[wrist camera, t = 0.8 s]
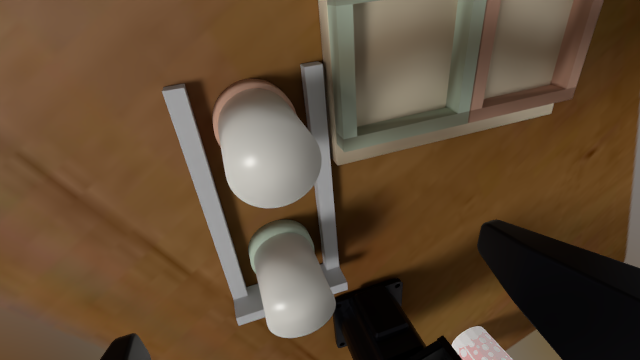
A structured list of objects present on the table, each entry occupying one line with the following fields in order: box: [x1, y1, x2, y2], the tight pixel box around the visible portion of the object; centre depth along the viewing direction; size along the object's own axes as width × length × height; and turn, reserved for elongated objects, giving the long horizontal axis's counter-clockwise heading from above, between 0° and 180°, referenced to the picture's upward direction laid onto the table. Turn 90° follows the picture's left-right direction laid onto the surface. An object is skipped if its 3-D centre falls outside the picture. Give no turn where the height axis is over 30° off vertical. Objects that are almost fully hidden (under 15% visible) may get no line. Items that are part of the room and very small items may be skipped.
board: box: [318, 0, 604, 165], centre depth 19 cm, size 11×16×2 cm
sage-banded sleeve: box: [248, 219, 336, 338], centre depth 21 cm, size 4×4×6 cm
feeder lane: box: [162, 61, 348, 326], centre depth 20 cm, size 16×8×2 cm, turn 5°
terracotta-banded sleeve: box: [212, 79, 322, 208], centre depth 16 cm, size 4×4×6 cm
